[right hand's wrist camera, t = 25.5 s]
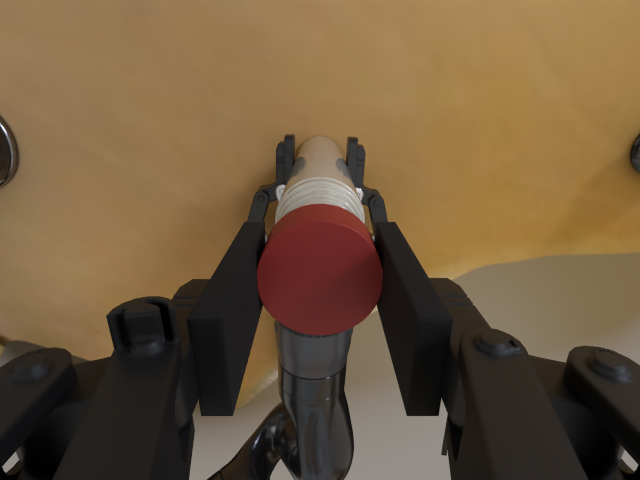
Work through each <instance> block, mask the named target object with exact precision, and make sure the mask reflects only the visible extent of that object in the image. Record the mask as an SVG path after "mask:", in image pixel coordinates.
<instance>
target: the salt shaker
mask: <svg viewBox="0 0 640 480" xmlns="http://www.w3.org/2000/svg"><path fill="white" fill-rule="evenodd" d="M631 159H632V164H633V166H634V168H635V169H636V170H637V171H638V172H639V173H640V136H639V137H638V139H637V140H636V142H635V144H634V146H633V149H632V154H631Z"/></svg>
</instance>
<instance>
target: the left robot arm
mask: <svg viewBox="0 0 640 480" xmlns="http://www.w3.org/2000/svg"><path fill="white" fill-rule="evenodd" d="M294 163H295V135H289V134H286V135H285V142H280V143H279V144H278V146H277V149H276V181H275V182H274V183H272V184H269V185H263V186H261V187H260V188H259V189H258V191H257V192H256V194H255V196H254V199H253V203H252V206H251V210H250V214H249V217H248V221H247V222H264V219H265V215H266V212H267V208H268V205H269V202H272V201H275V200H278V202H279V201H280V198H281V196H282V193H283V191H284V188H285V186H286V183H287V180H288V178H289V175H290V173H291V170H292V168H293V165H294ZM364 163H365V150H364V147H363V146H362V145H358V139H357V137H348V139H347V153H346V165H347V168H348V170H349V173H350V175H351V178H352V181H353V183H354V186H355V188H356V191H357V193H358V196H359V199H360V201H361V204H364V205H366V206H368V208H369V213H370V218H371V223H372V228H373V233H371V236H372V238H373V241H374V233H375V222H388V221H387V215H386V210H385V205H384V200H383V198H382V197H381V196H380V193H379V192H378V191H377V190H375V189H370V188H367V187H365V186H364V185H363V175H364ZM17 164H18V151H17V146H16V143H15V140H14V137H13V135H12V133H11V131H10V130H9V128H8V126H7V125H6V123H5V122H4V121H3V120H2V118H1V117H0V188H1V187H3V186H4V185H6V184H7V183H8V182H9V181H10V180H11V179H12V177H13V176H14V174H15V172H16V169H17ZM265 238H266V241H267V238H268V232H267V231H266V230H265ZM274 327H275V331H276V344H277V350H278V386H279V393H280V397H281V400H282V402H280V403H279V404H278V405H277V406H276V407H275V408H274V409H273V410H272V411H271V412H270V413H269V414H268V415H267V417H266V418H265V419H264V421H263V422H262V423H261V424H260V426H259V427H258V428H257V429H256V431H255V432H254V433H253V434H252V436H251V437H250V438H249V439H248V440H247V442H246V443H245V444H244V445H243V447H242V448H241V449H240V450H239V452H238V453H237V454H236V455H235V457H234V458H233V459H232V460H231V461H230V462H229V463H228V464H226V465H225V466H224V467H223V468H221V469H220V470H219V471H217V472H216V473H215V474H213V475H212V476H211V477H210V478H208V479H207V480H270V476H271V473H272V471H273V469H274V467H275V466H276V464H277V463H278V461H279V460H280V459H282V461H283V462H284V464H285V466H286V467H287V469H288V470H289V472H290V473H291V475H292V477H293V478H294V480H344V478H345V477H346V475H347V473H348V471H349V469H350V466H351V463H352V459H353V453H354V439H353V430H352V425H351V419H350V414H349V408H348V404H347V400H346V396H345V392H344V384H345V374H346V362H347V355H348V351H349V347H350V342H351V335H352V332H353V327H352V328H350V329H348V330H345V331H342V332H339V333H335V334H330V335H310V334H305V333H301V332H297V331H295V330H292V329H290V328H288V327H286V326H284V325H283V324H281V323H280V322H278V321H277V320H275V323H274Z"/></svg>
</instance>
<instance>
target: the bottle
mask: <svg viewBox="0 0 640 480" xmlns="http://www.w3.org/2000/svg"><path fill="white" fill-rule="evenodd" d="M309 204H330V205H335V206H339V207H341V208H344V209H346V210H348V211H350V212H351V213H353V214H354V215H356V216H357V217H358V218H359V219H360V220H361V221H362V222H363V223H364V224H365V216H364V210H363V206H362V204H361V201H360V199H359V196H358V193H357V191H356V188H355V186H354V183H353V181H352V178H351V175H350V173H349V170H348V168H347V165H346V163H345V160H344V157H343V155H342V152H341V150H340V148H339V146H338V145H337V143H336V142H335V141H333V140H332V139H330V138H328V137H325V136H315V137H312V138H310V139H308V140H307V141H305V142H304V143H303V145H302V146H301V148H300V150H299V152H298V155H297V157H296V160H295V163H294V165H293V168H292V170H291V173H290V175H289V178H288V180H287V183H286V186H285V188H284V191H283V193H282V196H281V198H280V201H279V204H278V206H277V210H276V216H275V224H276V223H277V222H278V221H279V220H280V219H281V218H282V217H283V216H284V215H286V214H287V213H288V212H290V211H292V210H294V209H296V208H299V207H301V206H305V205H309Z"/></svg>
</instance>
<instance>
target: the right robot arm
mask: <svg viewBox="0 0 640 480" xmlns="http://www.w3.org/2000/svg"><path fill="white" fill-rule="evenodd" d="M265 243H266V238H265V222H244V224H243V226H242V227H241V229H240V231H239V232H238V234H237V236H236V237H235V239H234V241H233V242H232V244H231V246H230V247H229V249H228V251H227V252H226V254H225V256H224V257H223V259H222V261H221V262H220V264H219V266H218V267H217V269H216V271H215V272H214V274H213V276H212V277H211V279H192V280H191V281H189V282H188V283H186V284H184V285H183V286H181V287H180V288H179V289H178V291H177V292H176V293H175V295H174V296H173V299H171V300H170V299H168V298H164V297H160V296H151V297H143V298H137V299H133V300H131V301H128V302H125V303H122V304H121V305H119V306H117V307H116V308H114V309H112V310H111V311H110V313H109V314H108V315H107V316H106V317H107V321H108V325H109V329H110V333H111V337H112V341H113V345H114V351H113V353H112V355H111V357H107V358H103V359H99V360H94V361H89V362H84V363H79V364H74V363H73V359H72V356H71V353H69V352H68V351H67V350H66V349H61V348H56V347H55V348H45V349H38V350H35V351H31V352H27V353H25V354H23V355H21V356H19V357H17V358H15V359H12V360H11V361H9V362H8V363H6V364H5V365H3V366H2V367H0V480H189V474H190V466H191V457H192V449H193V441H194V432H195V429H194V422H193V416H192V414H193V411H194V409H195V406H196V404H197V401H198V399H199V405H200V411H201V416H233V413H234V409H235V406H236V402H237V398H238V395H239V391H240V387H241V384H242V380H243V376H244V373H245V369H246V365H247V362H248V358H249V354H250V351H251V347H252V343H253V340H254V336H255V332H256V329H257V325H258V321H259V318H260V314H261V310H262V307H263V303H262V301H261V299H260V296H259V293H258V283H257V266H258V262H259V259H260V257H261V254H262V251H263V249H264V246H265ZM374 244H375V246H376V249H377V252H378V255H379V257H380V260H381V263H382V267H383V279H382V293H381V296H380V298H379V301H378V303H377V308H378V311H379V315H380V319H381V322H382V326H383V330H384V333H385V337H386V341H387V344H388V348H389V352H390V355H391V359H392V363H393V366H394V370H395V374H396V377H397V381H398V384H399V388H400V392H401V396H402V399H403V403H404V407H405V410H406V414H407V416H438V415H439V409H440V403H441V398H442V400H443V402H444V405H445V407H446V410H447V412H448V416H447V422H446V428H445V434H444V440H443V447H442V455H445V456H446V455H447V449H448V456H449V465H450V473H451V480H640V365H638V364H637V363H635V362H634V361H632V360H631V359H629V358H627V357H625V356H623V355H621V354H618V353H617V352H615V351H612V350H609V349H605V348H601V347H593V346H580V347H575V348H574V349H572V350H571V351H570V352H569V355H568V358H567V362H566V363H564V362H559V361H554V360H549V359H544V358H539V357H535V356H531V355H528V353H527V351H526V349H525V347H524V346H523V345H522V344H521V342H520V341H519V340H517V339H516V338H514V337H513V336H511V335H510V334H507V333H505V332H502V331H500V330H496V329H492V328H491V327H490V326H489V325H488V323H487V322H486V321H485V319H484V318H483V317H482V315H481V314H480V312H479V311H478V310H477V308H476V307H475V306H474V305H473V303H472V302H471V300H470V299H469V298H468V297H467V295H466V294H465V292H464V291H463V290H462V288H461V287H460V286H459V285H457V284H456V283H454V282H453V281H451V280H450V279H448V278H428V276H427V274H426V273H425V271H424V269H423V268H422V266H421V264H420V263H419V261H418V259H417V258H416V256H415V254H414V253H413V251H412V249H411V248H410V246H409V244H408V243H407V241H406V239H405V238H404V236H403V234H402V233H401V231H400V229H399V228H398V226H397V224H396V223H395V222H375V233H374ZM624 450H626V451H627V452H628V453H629V455H630V456H631V457H632V458H633V459H634V460H635V461H636V462H637V463H638V467H637V469H636V471H633V470H632V469H631V468H630V467H628V466H627V465H626V463H625V462H624V461H623V460H622V459H621V457H622V455H623V452H624ZM15 451H16V453H17V456H18V458H19V461H18V462H17V463H16V464H15V465H14V466H13V467H12V468H11V469H10V470H9V471H8V472H7V473H5V472H4V470H3V468H2V466H3V465H4V464H5V463H6V462H7V460H8V459H9V458H10V457H11V456H12V455H13V454H14V452H15Z"/></svg>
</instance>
